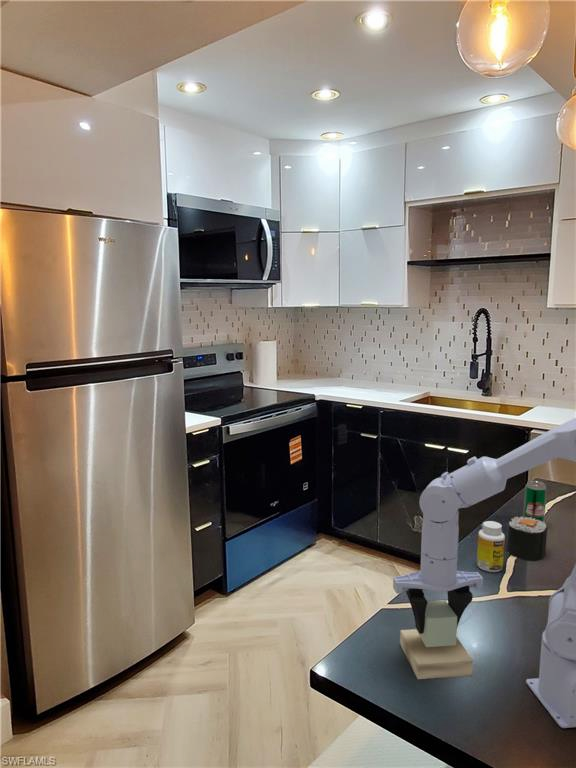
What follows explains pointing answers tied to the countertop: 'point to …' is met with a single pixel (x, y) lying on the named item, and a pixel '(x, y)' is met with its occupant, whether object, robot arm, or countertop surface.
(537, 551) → the sushi
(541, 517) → the soda can
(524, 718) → the countertop surface
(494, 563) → the supplement bottle
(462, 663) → the maple block
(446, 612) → the green cube
